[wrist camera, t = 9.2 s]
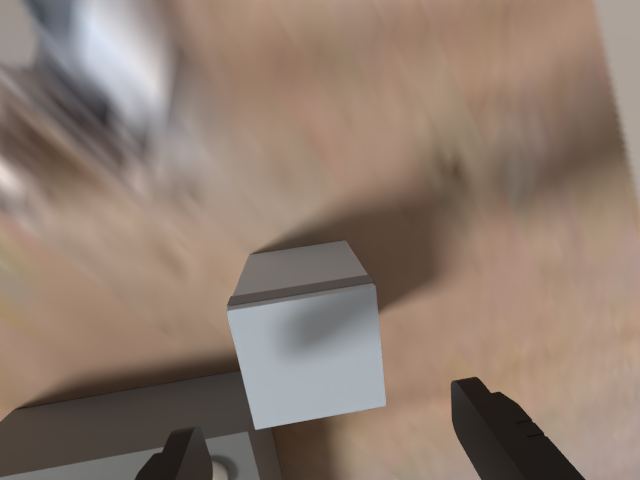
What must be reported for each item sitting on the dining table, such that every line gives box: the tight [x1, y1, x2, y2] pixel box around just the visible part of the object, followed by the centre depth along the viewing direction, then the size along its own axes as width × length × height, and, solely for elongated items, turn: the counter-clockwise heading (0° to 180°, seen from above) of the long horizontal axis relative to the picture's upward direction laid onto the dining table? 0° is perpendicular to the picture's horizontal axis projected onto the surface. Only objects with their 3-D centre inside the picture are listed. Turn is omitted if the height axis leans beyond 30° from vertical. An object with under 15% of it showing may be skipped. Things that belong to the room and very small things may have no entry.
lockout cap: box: [227, 240, 386, 430], centre depth 16 cm, size 6×6×7 cm
